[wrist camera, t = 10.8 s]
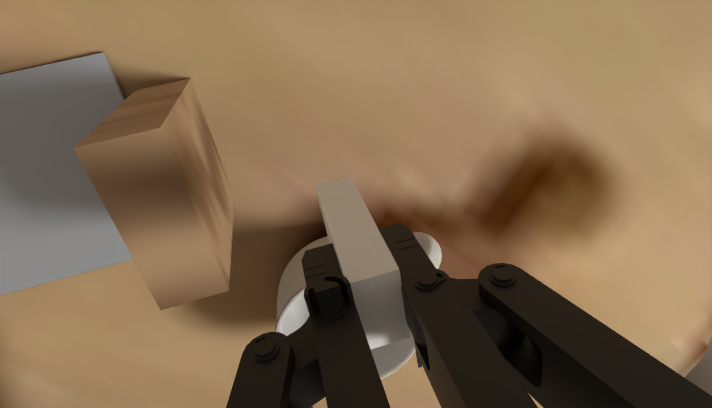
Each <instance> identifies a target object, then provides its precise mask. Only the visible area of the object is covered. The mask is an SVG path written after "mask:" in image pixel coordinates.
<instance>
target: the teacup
mask: <svg viewBox="0 0 712 408" xmlns="http://www.w3.org/2000/svg"><path fill="white" fill-rule="evenodd" d="M413 234H414V236H415V238H416V239H417V240H418V242H419V243H420V245H421V246H422V248H424V251H425V252H426V254H427V255H428V257H429V259H430V260H431V262H432V263H433V265H434V266H435V268H436V269H438V268H439V265H440V263H441V258H442V254H441V249H440V246H439V244H438V243H437V242H436V240H435V239H433V238H432V237H431V236H429V235H427V234H425V233H421V232H415V233H413ZM327 244H330V242H329V239H328V236H326V237H323V238H320V239H318V240H316V241H313V242H312V243H310V244H308V245H307V246H305V247H304V248H302V249H301V250H300V251H299V252H298V253H297V254H296V255H295V256H294V257H293V258H292V259H291V260H290V262H289V263H288V265H287V266H286V268H285V270H284V272H283V274H282V277H281V280H280V284H279V288H278V296H277V324H276V329H275V332H280V333H282V334H284V335H286V336H288V335H289V334H291V333H293V332H294V331H296V330H297V329H299V328H300V327H301V326H302V325H303V324H304V323H305V322H306V321H307V319H308V317H309V311H308V308H307V305H306V302H305V299H304V289H305V288H306V282H305V277H304V271H303V267H302V261H301V260H302V258H303V255H304V253H305V251H306V250H309V249H313V248H316V247H320V246H324V245H327ZM409 332H410V337H409V338H406V339H403V340H400V341H397V342H393V343H390V344H387V345H384V346H381V347H377V348H374V349H371V352H372V355H373V358H374V361H375V364H376V367H377V370H378V373H379V376H380V379H381V380H382V379H384V378H386V377H388V376H389V375H391V374H393V373H394V372H395V371H397V370H398V369H399V368H400V367H402V366H403V365H404V364H405V363H406V362H407V361H408V360H409V359H410V358H411V357H412V355H413V354H414V352H415V351H416V349H415V343H414V337H413V335H412V333H411V331H410V329H409Z"/></svg>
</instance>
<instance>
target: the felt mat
mask: <svg viewBox="0 0 712 408" xmlns="http://www.w3.org/2000/svg"><path fill="white" fill-rule="evenodd" d="M124 100H125V97H124V95H123V93H122V91H121V89H120V86H119V84H118V82H117V80H116V78H115V75H114V73H113V71H112V69H111V67H110V64H109V62H108V60H107V58H106V56H105V53H104V52H102V53H97V54H92V55H88V56H83V57H79V58H74V59H69V60H65V61H60V62H55V63H51V64H46V65H42V66H37V67H32V68H28V69H23V70H19V71H14V72H9V73H5V74H0V295H3V294H7V293H10V292H14V291H18V290H22V289H25V288H29V287H33V286H36V285H40V284H44V283H47V282H51V281H55V280H58V279H62V278H66V277H69V276H73V275H77V274H81V273H84V272H88V271H92V270H95V269H99V268H103V267H106V266H110V265H114V264H117V263H121V262H125V261H128V260H132V259H133V258H132V256H131V254H130V252H129V250H128V248H127V247H126V245H125V243H124V241H123V239H122V237H121V235H120V234H119V232H118V230H117V228H116V226H115V224H114V222H113V221H112V219H111V217H110V215H109V213H108V211H107V209H106V208H105V206H104V204H103V202H102V200H101V198H100V197H99V195H98V193H97V191H96V189H95V187H94V185H93V184H92V182H91V180H90V178H89V176H88V174H87V172H86V171H85V169H84V167H83V165H82V163H81V161H80V159H79V158H78V156H77V154H76V152H75V150H74V147H75V146H76V145H77V144H78V143H79V142H80V141H81V140H83V139H84V138H85V137H86V136H87V135H88V134H89V133H90V132H91V131H92V130H93V129H94V128H95V127H96V126H98V125H99V124H100V123H101V122H102V121H103V120H104V119H105V118H106V117H107V116H108V115H109V114H110V113H111V112H113V111H114V110H115V109H116V108H117V107H118V106H119V105H120V104H121V103H122V102H123V101H124Z"/></svg>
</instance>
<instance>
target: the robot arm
mask: <svg viewBox="0 0 712 408" xmlns="http://www.w3.org/2000/svg"><path fill="white" fill-rule="evenodd" d="M315 188H316V192H317V196H318V200H319V204H320V208H321V212H322V216H323V220H324V223H325V227H326V231H327V235H328V239H329V242H330V244H327V245H324V246H320V247H316V248H313V249H309V250H306V251H305V253H304V255H303V258H302V260H301V261H302V267H303V271H304V277H305V282H306V288H305V289H304V299H305V302H306V305H307V308H308V311H309V317H308V319H307V321H306V322H305V323H304V324H303V325H302V326H301V327H300V328H299V329H297V330H296V331H294V332H293V333H291V334H289V335H288V336H286V335H284V334H282V333H280V332H269V333H265V334H261V335H260V336H258V337H256V338H255V339H253V340H252V341H251V342H250V343H249V344H248V345H247V346H246V348H245V350H244V352H243V354H242V357H241V360H240V363H239V367H238V370H237V373H236V377H235V380H234V383H233V387H232V390H231V393H230V397H229V400H228V403H227V407H226V408H313V405H314V404H315V403H317V402H318V401H320V400H321V399H323V398H324V397H326V401H327V406H328V408H390V406H389V403H388V400H387V397H386V394H385V391H384V388H383V385H382V382H381V379H380V376H379V373H378V370H377V367H376V364H375V361H374V358H373V355H372V352H371V349H374V348H377V347H381V346H384V345H387V344H390V343H393V342H397V341H400V340H403V339H406V338H409V337H410V332H409V329H410V331H411V333H412V335H413V337H414V343H415V349H416V356H417V362H418V367H422V365H423V368H424V370H425V372H426V374H427V376H428V379H429V381H430V383H431V385H432V387H433V390H434V392H435V394H436V396H437V399H438V401H439V403H440V405H441V407H442V408H538V407H537V406H536V404H535V403H534V401H533V400H532V398H531V397H530V395H531V396H532V397H533V398H534V399H535V400H536V401H537V402H538V403H539V404H540V405H541V406H543V407H544V408H712V396H711V395H709V394H708V393H706V392H705V391H703V390H702V389H700V388H699V387H697V386H696V385H694V384H693V383H691V382H690V381H688V380H687V379H685V378H684V377H682V376H681V375H679V374H678V373H676V372H675V371H673V370H672V369H670V368H669V367H667V366H666V365H664V364H663V363H661V362H660V361H658V360H657V359H655V358H654V357H652V356H651V355H649V354H648V353H646V352H645V351H643V350H642V349H640V348H639V347H637V346H636V345H634V344H633V343H631V342H630V341H628V340H627V339H625V338H624V337H622V336H621V335H619V334H618V333H616V332H615V331H613V330H612V329H610V328H609V327H607V326H606V325H604V324H603V323H601V322H600V321H598V320H597V319H595V318H594V317H592V316H591V315H589V314H588V313H586V312H585V311H583V310H582V309H580V308H579V307H577V306H576V305H574V304H573V303H571V302H570V301H568V300H567V299H565V298H564V297H562V296H561V295H559V294H558V293H556V292H555V291H553V290H552V289H550V288H549V287H547V286H546V285H544V284H543V283H541V282H540V281H538V280H537V279H535V278H534V277H532V276H531V275H529V274H528V273H526V272H525V271H523V270H522V269H520V268H518V267H516V266H514V265H511V264H505V263H498V264H492V265H489V266H486V267H485V268H484V269H482V270H481V271H480V274H479V276H478V279H454V278H450V277H449V276H448V275H447V274H446V273H445V272H444V271H441V270H439V269H436V268H435V266H434V265H433V263H432V262H431V260H430V259H429V257H428V255H427V254H426V252H425V251H424V249H423V248H422V246H421V245H420V243H419V242H418V240H417V239H416V238H415V236H414V234H413V233H412V231H411V230H410V229H409V228H408V227H406V226H404V225H402V224H401V223H399V224H395V225H391V226H388V227H384V228H381V229H378V228H377V226H376V224H375V222H374V220H373V218H372V216H371V215H370V213H369V211H368V209H367V207H366V205H365V203H364V201H363V199H362V197H361V196H360V194H359V192H358V190H357V188H356V186H355V184H354V182H353V180H352V179H351V177H350V176H348V177H344V178H340V179H337V180H333V181H329V182H325V183H321V184H318V185H315ZM528 393H529V394H530V395H529V394H528Z"/></svg>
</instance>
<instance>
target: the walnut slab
mask: <svg viewBox="0 0 712 408" xmlns="http://www.w3.org/2000/svg"><path fill="white" fill-rule="evenodd" d="M74 150H75V152H76V154H77V156H78V158H79V159H80V161H81V163H82V165H83V167H84V169H85V171H86V172H87V174H88V176H89V178H90V180H91V182H92V184H93V185H94V187H95V189H96V191H97V193H98V195H99V197H100V198H101V200H102V202H103V204H104V206H105V208H106V209H107V211H108V213H109V215H110V217H111V219H112V221H113V222H114V224H115V226H116V228H117V230H118V232H119V234H120V235H121V237H122V239H123V241H124V243H125V245H126V247H127V248H128V250H129V252H130V254H131V256H132V258H133V259H134V261H135V263H136V265H137V267H138V269H139V271H140V272H141V274H142V276H143V278H144V280H145V282H146V284H147V285H148V287H149V289H150V291H151V293H152V295H153V297H154V298H155V300H156V302H157V304H158V306H159V308H160V309H161V310H163V309H167V308H170V307H174V306H177V305H181V304H184V303H188V302H191V301H195V300H199V299H202V298H206V297H209V296H213V295H216V294H220V293H223V292H227V291H229V281H230V264H231V248H232V232H233V216H234V200H235V199H234V196H233V193H232V190H231V188H230V185H229V182H228V179H227V176H226V174H225V171H224V168H223V165H222V163H221V160H220V157H219V154H218V152H217V149H216V146H215V143H214V141H213V138H212V135H211V132H210V130H209V127H208V124H207V121H206V118H205V116H204V113H203V110H202V107H201V105H200V102H199V99H198V96H197V94H196V91H195V88H194V85H193V83H192V80H191V78H188V79H184V80H179V81H175V82H170V83H166V84H161V85H157V86H152V87H148V88H143V89H139V90H135V91H134V92H133V93H132V94H131V95H130V96H129V97H128V98H126V99H125V100H124V101H123V102H122V103H121V104H120V105H119V106H118V107H117V108H116V109H115V110H114V111H113V112H111V113H110V114H109V115H108V116H107V117H106V118H105V119H104V120H103V121H102V122H101V123H100V124H99V125H98V126H96V127H95V128H94V129H93V130H92V131H91V132H90V133H89V134H88V135H87V136H86V137H85V138H84V139H83V140H81V141H80V142H79V143H78V144H77V145H76V146H75V147H74Z"/></svg>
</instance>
